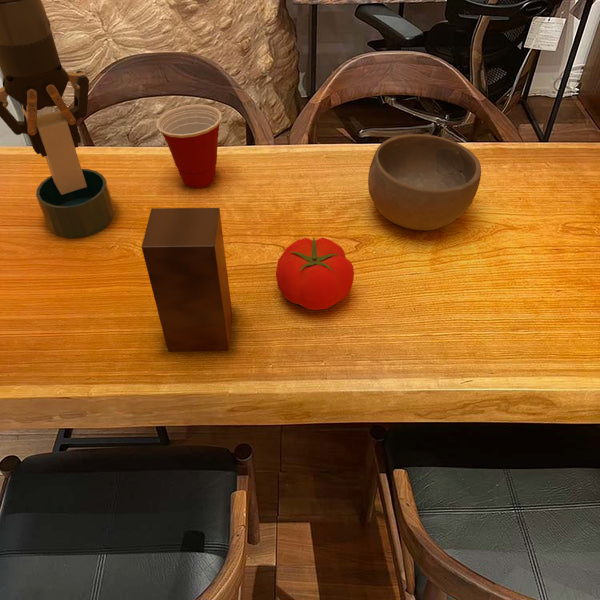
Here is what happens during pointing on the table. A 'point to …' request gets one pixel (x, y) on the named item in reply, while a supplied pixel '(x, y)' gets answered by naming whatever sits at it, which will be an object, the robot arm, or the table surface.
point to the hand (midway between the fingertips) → (58, 149)
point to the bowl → (423, 180)
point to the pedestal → (189, 277)
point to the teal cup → (77, 206)
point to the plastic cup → (192, 142)
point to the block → (60, 152)
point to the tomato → (314, 273)
